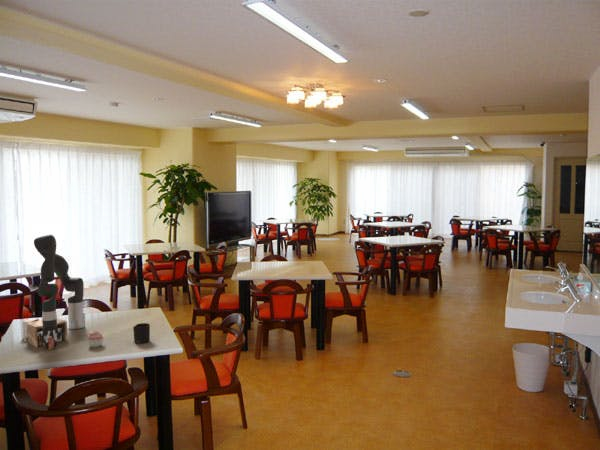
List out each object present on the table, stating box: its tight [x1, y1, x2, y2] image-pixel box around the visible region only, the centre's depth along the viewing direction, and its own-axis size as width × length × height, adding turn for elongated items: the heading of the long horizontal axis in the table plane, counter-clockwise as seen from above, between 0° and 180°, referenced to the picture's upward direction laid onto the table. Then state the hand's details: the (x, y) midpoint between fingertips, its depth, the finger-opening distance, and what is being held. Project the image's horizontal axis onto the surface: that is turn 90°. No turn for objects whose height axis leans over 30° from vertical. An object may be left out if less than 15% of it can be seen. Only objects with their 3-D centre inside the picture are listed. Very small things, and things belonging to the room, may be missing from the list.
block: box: [55, 331, 63, 343], centre depth 319 cm, size 5×5×5 cm
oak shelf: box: [27, 316, 68, 348], centre depth 316 cm, size 18×14×12 cm
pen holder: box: [132, 322, 151, 345], centre depth 315 cm, size 9×9×10 cm
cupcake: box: [86, 329, 105, 349], centre depth 307 cm, size 9×9×10 cm
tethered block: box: [37, 334, 55, 351], centre depth 307 cm, size 5×18×7 cm, turn 45°
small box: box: [21, 318, 40, 339], centre depth 328 cm, size 8×6×10 cm
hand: (50, 347), depth 302 cm, fingers closed on tethered block, 3 cm apart
